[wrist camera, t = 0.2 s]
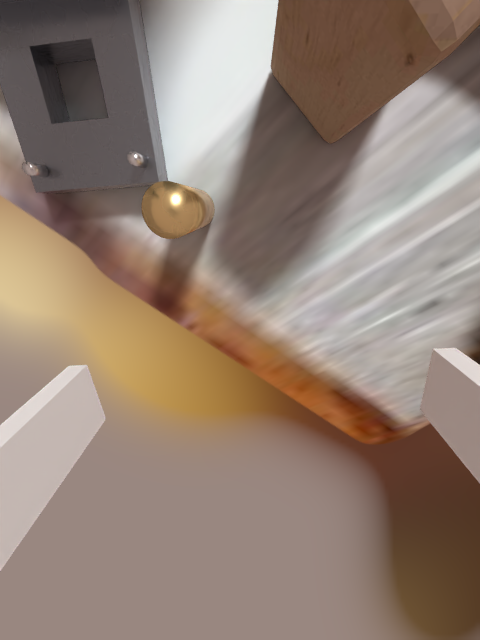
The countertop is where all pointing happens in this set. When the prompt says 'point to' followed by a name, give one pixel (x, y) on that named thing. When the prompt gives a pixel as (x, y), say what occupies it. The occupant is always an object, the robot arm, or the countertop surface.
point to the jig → (48, 102)
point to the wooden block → (361, 53)
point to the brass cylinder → (176, 209)
